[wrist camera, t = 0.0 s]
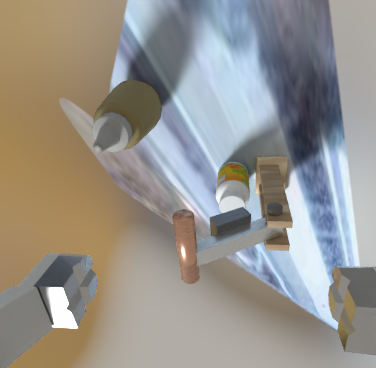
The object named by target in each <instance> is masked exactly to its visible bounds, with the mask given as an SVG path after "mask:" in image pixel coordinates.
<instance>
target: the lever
mask: <svg viewBox="0 0 376 368" xmlns="http://www.w3.org/2000/svg"><path fill="white" fill-rule="evenodd" d="M173 223H174V230H175V237H176V243H177V250H178V257H179V264H180V271H181V278H182V280H183V281H184V282H185V283H188V284H192V283H195V282H197V281H198V279H199V278H200V274H199V266H200V265H203V264H206V263H209V262H211V261H214V260H216V259H219V258H222V257H224V256H227V255H230V254H232V253H235V252H238V251H240V250H243V249H246V248H248V247H251V246H254V245H256V244H259V243H262V242H264V241H267V240H269V239H272V238H275V237H277V236H280V235H283V228H278V227H267V220H266V217H264V218H261V219H259V220H256V221H253V222H251V214H250V213H249V212H248V211H247V210H246V209H245V208H244V207H240V208H237V209H234V210H231V211H228V212H225V213H222V214H219V215H216V216H213V217H210V228H211V236H210V237H207V238H204V239H202V240H199V241H196V232H195V222H194V214H193V212H192V211H190V210H186V209H183V210H179V211H177V212H175V213H174V214H173Z"/></svg>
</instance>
